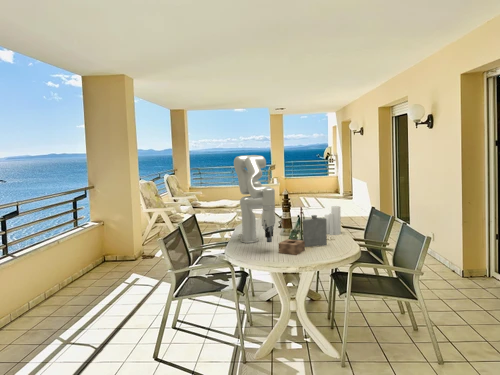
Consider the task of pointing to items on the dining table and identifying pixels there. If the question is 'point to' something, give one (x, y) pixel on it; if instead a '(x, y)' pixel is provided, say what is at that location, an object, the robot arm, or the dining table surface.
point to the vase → (334, 221)
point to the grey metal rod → (270, 235)
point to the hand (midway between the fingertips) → (269, 236)
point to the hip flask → (315, 231)
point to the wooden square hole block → (291, 246)
